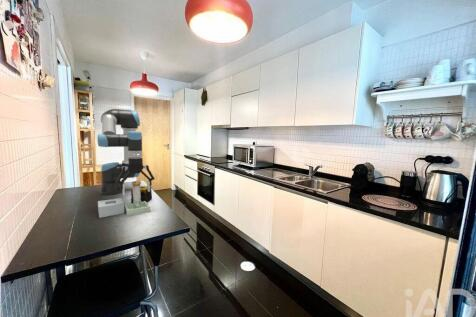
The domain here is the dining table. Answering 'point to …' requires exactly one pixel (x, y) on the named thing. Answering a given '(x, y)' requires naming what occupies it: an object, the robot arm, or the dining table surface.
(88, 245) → the dining table surface
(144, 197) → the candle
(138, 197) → the pin
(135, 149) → the robot arm
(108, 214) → the block
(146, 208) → the tray
